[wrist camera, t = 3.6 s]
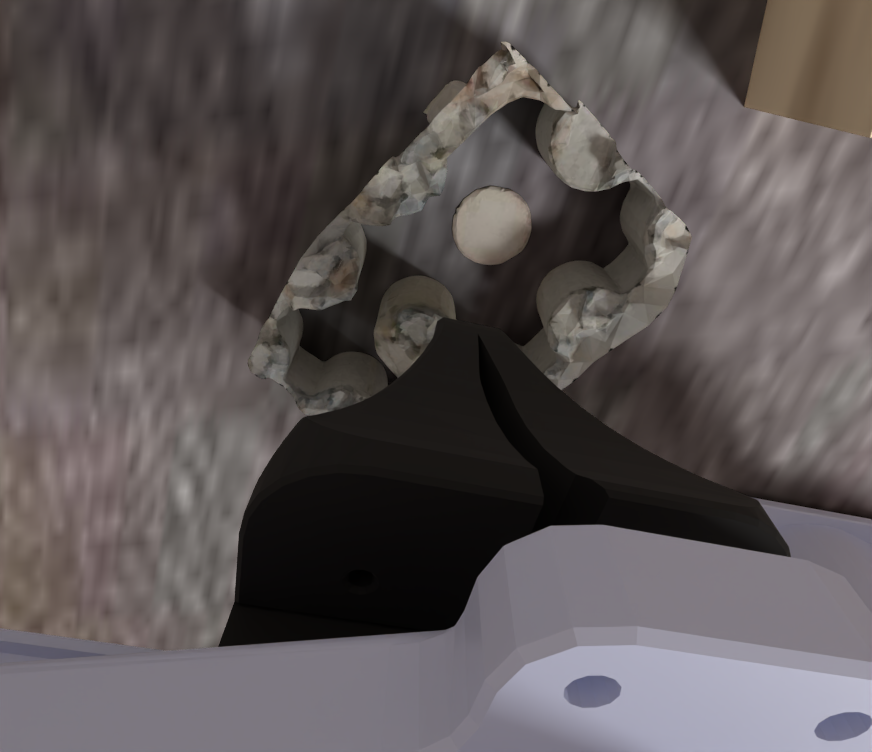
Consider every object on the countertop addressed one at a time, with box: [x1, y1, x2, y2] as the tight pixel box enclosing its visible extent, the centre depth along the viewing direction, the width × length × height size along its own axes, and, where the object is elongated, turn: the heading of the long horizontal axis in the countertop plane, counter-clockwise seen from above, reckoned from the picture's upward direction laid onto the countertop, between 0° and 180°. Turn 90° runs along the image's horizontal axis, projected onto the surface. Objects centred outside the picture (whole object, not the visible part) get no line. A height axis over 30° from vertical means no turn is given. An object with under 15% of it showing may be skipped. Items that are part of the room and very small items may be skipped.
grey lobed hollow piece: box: [248, 42, 692, 416], centre depth 15 cm, size 11×8×4 cm
